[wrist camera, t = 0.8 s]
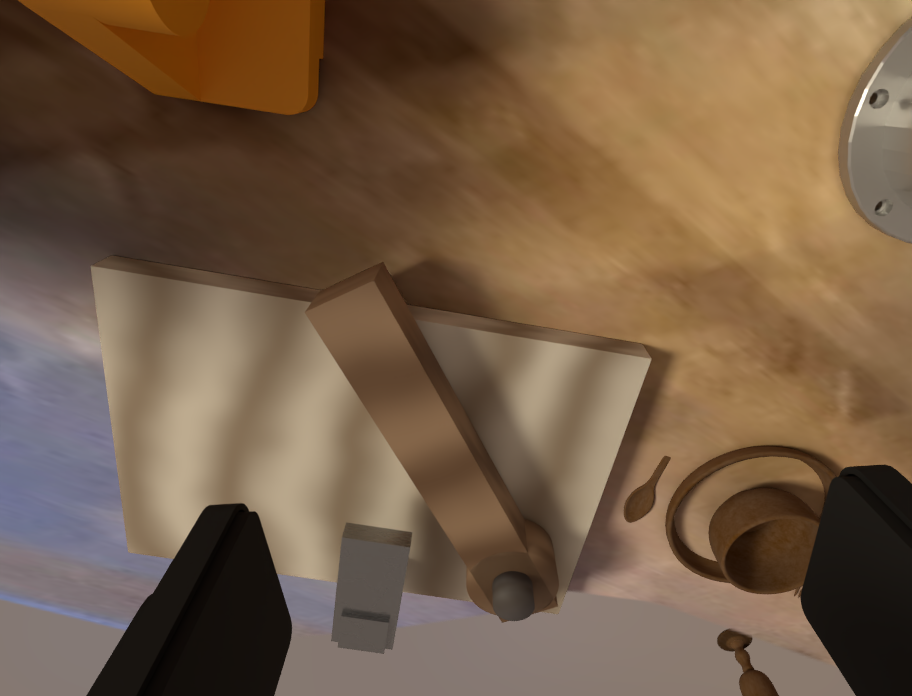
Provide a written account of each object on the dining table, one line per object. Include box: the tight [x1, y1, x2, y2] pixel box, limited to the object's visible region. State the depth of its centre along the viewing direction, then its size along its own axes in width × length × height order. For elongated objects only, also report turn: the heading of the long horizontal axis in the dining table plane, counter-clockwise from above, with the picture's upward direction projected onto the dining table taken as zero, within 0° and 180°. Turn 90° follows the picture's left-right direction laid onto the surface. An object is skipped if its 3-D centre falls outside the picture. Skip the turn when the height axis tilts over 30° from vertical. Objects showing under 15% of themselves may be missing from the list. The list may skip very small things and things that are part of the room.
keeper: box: [331, 522, 412, 654], centre depth 37 cm, size 4×9×8 cm, turn 170°
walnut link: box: [305, 262, 559, 622], centre depth 33 cm, size 25×6×5 cm, turn 26°
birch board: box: [91, 255, 651, 614], centre depth 37 cm, size 32×22×2 cm
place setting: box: [624, 446, 836, 696], centre depth 39 cm, size 18×20×6 cm
